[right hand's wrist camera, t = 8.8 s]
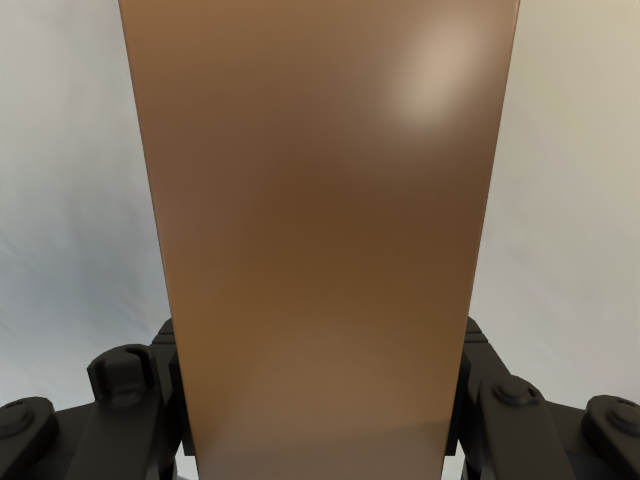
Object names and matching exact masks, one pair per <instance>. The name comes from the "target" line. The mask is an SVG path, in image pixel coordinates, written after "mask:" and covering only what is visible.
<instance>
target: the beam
mask: <svg viewBox="0 0 640 480" xmlns="http://www.w3.org/2000/svg"><path fill="white" fill-rule="evenodd" d="M118 2H119V8H120V14H121V20H122V26H123V32H124V38H125V44H126V49H127V55H128V61H129V67H130V73H131V79H132V85H133V91H134V97H135V103H136V109H137V115H138V121H139V127H140V133H141V139H142V145H143V150H144V156H145V162H146V168H147V174H148V180H149V186H150V192H151V198H152V204H153V210H154V216H155V222H156V228H157V234H158V240H159V246H160V251H161V257H162V263H163V269H164V275H165V281H166V287H167V293H168V299H169V305H170V311H171V317H172V323H173V329H174V335H175V341H176V347H177V352H178V358H179V364H180V370H181V376H182V382H183V388H184V394H185V400H186V406H187V412H188V418H189V424H190V430H191V436H192V442H193V448H194V453H195V459H196V465H197V471H198V477H199V480H441V476H442V470H443V464H444V458H445V452H446V446H447V440H448V434H449V428H450V422H451V416H452V410H453V404H454V398H455V392H456V386H457V380H458V374H459V368H460V361H461V355H462V349H463V343H464V337H465V331H466V325H467V319H468V313H469V307H470V301H471V295H472V289H473V283H474V277H475V271H476V265H477V259H478V253H479V247H480V241H481V235H482V229H483V223H484V216H485V210H486V204H487V198H488V192H489V186H490V180H491V174H492V168H493V162H494V156H495V150H496V144H497V138H498V132H499V126H500V120H501V114H502V108H503V102H504V96H505V90H506V84H507V78H508V72H509V65H510V59H511V53H512V47H513V41H514V35H515V29H516V23H517V17H518V11H519V5H520V0H118Z"/></svg>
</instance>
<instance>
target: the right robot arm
mask: <svg viewBox="0 0 640 480" xmlns="http://www.w3.org/2000/svg"><path fill="white" fill-rule="evenodd" d="M87 372H88V375H89V379H90V383H91V386H92V390H93V393H94V397H95V402H93V403H89V404H86V405H82V406H78V407H74V408H69V409H65V410H61V411H56V412H55V410H54V407H53V404H52V402H50V401H49V400H48V399H47V398H43V397H29V398H22V399H19V400H17V401H14V402H11V403H8V404H6V405H4V406H2V407H0V480H177V466H176V460H175V455H176V453H177V450H178V448H179V445H180V443H181V440H182V444H183V449H184V455H185V456H195V453H194V448H193V442H192V436H191V430H190V424H189V418H188V412H187V406H186V400H185V394H184V388H183V382H182V376H181V370H180V364H179V358H178V352H177V347H176V341H175V335H174V329H173V323H172V317H171V318H170V319H169V320H167V321H166V322H165V323H164V325H163V326H162V328H161V329H160V331H159V332H158V335H156V337H155V338H154V340H153V341H152V344H150V345H149V346H146V345H142V344H127V345H123V346H119V347H115V348H113V349H111V350H108V351H106V352H104V353H102V354H101V355H100V356H98V357H97V358H95V359H94V360H93V361H92V362H91V363H90V365H89V366H88V367H87ZM458 439H459V441H460V444H461V446H462V449H463V451H464V454H465V460H464V465H463V470H462V475H461V480H640V406H639V405H637V404H636V403H634V402H631V401H628V400H626V399H623V398H620V397H616V396H609V395H600V396H594V397H593V398H591V399H590V400H589V401H588V403H587V406H586V409H585V410H582V409H577V408H573V407H569V406H565V405H560V404H556V403H553V402H549V401H546V400H545V399H544V397H543V396H542V394H541V393H540V391H539V390H538V389H537V388H536V387H534V386H533V385H532V384H531V383H529V382H528V381H526V380H524V379H522V378H520V377H518V376H514V375H511V374H510V372H509V371H508V369H507V368H506V366H505V365H504V363H503V362H502V360H501V359H500V358H499V356H498V355H497V353H496V352H495V350H494V349H493V347H492V346H491V344H490V343H488V340H487V338H486V337H485V335H484V334H482V331H481V329H480V328H479V326H478V325H477V324H476V322H475V321H474V320H473V319H472V318H470V317H469V316H468V319H467V325H466V331H465V337H464V343H463V349H462V355H461V361H460V368H459V374H458V380H457V386H456V392H455V398H454V404H453V410H452V416H451V422H450V428H449V434H448V440H447V446H446V452H445V456H455V453H456V448H457V442H458Z"/></svg>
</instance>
